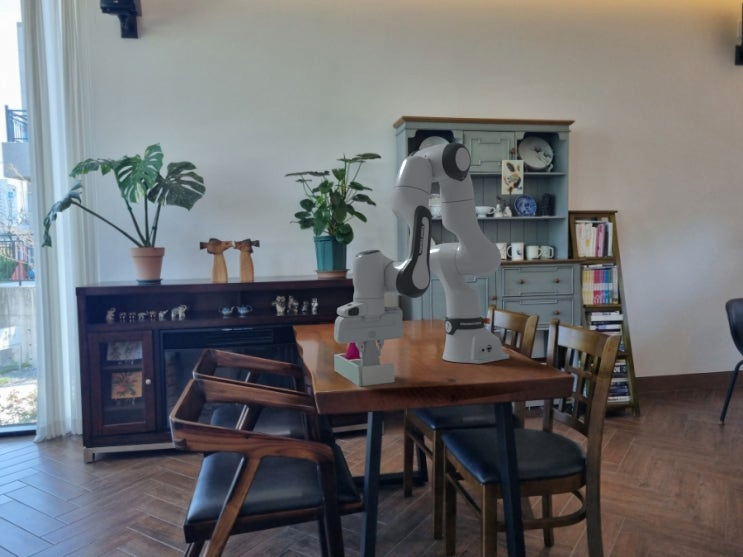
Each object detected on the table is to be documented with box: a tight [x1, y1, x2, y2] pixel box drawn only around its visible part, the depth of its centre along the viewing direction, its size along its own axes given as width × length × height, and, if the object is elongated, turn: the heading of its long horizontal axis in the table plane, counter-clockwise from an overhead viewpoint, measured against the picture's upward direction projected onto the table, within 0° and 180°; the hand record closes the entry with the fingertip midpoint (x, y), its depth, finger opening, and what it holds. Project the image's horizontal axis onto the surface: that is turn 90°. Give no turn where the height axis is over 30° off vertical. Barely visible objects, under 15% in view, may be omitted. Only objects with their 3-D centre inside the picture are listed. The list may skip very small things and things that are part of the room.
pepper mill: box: [345, 342, 364, 360], centre depth 150 cm, size 7×7×20 cm
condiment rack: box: [333, 352, 395, 387], centre depth 146 cm, size 10×21×5 cm, turn 23°
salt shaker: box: [360, 331, 381, 367], centre depth 141 cm, size 6×6×13 cm
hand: (370, 356), depth 141 cm, fingers closed on salt shaker, 3 cm apart
